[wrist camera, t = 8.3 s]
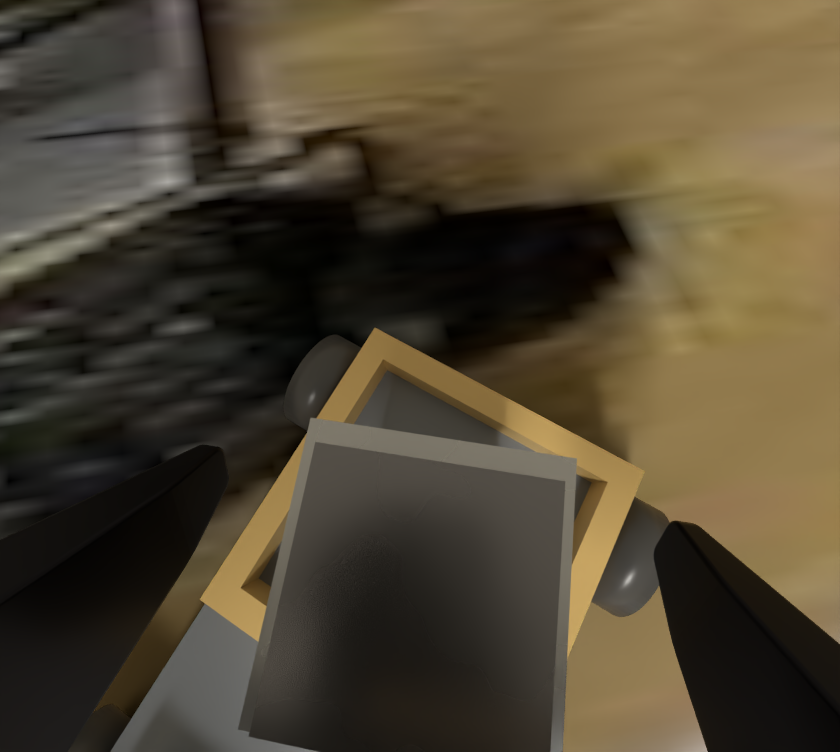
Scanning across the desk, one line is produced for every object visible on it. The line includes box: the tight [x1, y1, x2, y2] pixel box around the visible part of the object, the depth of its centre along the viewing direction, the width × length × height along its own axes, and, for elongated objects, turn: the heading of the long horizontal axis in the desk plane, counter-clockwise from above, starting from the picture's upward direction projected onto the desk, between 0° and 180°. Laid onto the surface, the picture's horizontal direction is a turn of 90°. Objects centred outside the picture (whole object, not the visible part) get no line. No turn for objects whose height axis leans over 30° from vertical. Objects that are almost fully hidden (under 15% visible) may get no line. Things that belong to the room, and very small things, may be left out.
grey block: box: [238, 418, 577, 752], centre depth 11 cm, size 5×5×10 cm
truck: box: [68, 328, 669, 752], centre depth 14 cm, size 23×15×6 cm, turn 150°
